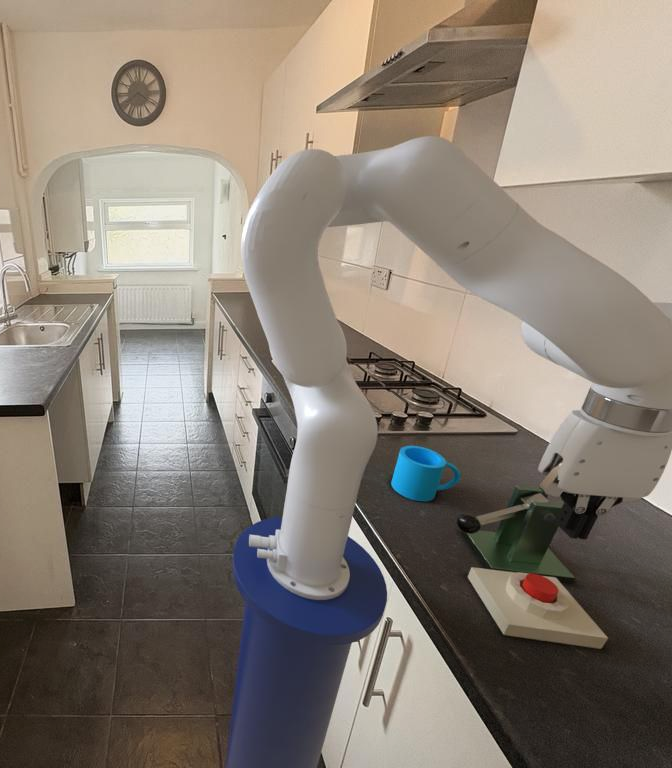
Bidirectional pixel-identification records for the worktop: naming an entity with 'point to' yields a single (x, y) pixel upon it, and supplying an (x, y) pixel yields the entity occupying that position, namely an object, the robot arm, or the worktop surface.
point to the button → (540, 588)
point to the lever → (497, 514)
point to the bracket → (523, 540)
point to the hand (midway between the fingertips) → (570, 531)
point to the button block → (534, 610)
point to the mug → (421, 473)
